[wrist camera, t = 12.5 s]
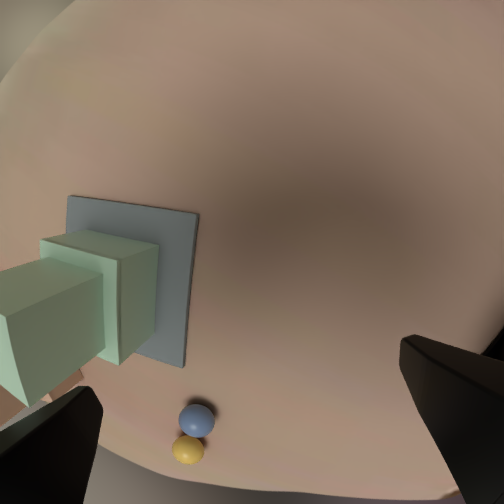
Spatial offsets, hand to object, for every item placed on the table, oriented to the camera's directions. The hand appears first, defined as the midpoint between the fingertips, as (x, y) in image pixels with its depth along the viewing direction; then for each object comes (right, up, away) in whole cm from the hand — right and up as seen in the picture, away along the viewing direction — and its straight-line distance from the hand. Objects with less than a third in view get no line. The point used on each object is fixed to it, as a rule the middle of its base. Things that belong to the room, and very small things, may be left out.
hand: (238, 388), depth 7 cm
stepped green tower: (-10, +1, +14) cm, 18 cm away
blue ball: (-4, -11, +13) cm, 17 cm away
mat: (-10, +1, +15) cm, 18 cm away
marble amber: (-5, -16, +14) cm, 22 cm away
